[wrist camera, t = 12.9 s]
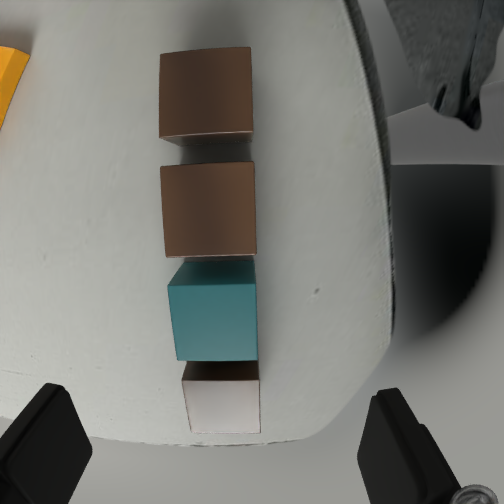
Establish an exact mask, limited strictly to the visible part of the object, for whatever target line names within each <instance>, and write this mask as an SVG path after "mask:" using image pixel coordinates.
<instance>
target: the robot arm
mask: <svg viewBox="0 0 504 504" xmlns="http://www.w3.org/2000/svg"><path fill="white" fill-rule="evenodd" d="M91 456H92V446H91V444H90V441H89V439H88V437H87V435H86V433H85V430H84V428H83V426H82V424H81V421H80V419H79V417H78V414H77V412H76V409H75V407H74V405H73V402H72V399H71V397H70V394H69V392H68V391H66V390H65V388H64V387H63V386H61V385H57V384H52V383H46V384H45V385H44V386H43V387H42V388H41V389H40V390H39V391H38V393H37V394H36V395H35V396H34V397H33V399H32V400H31V401H30V402H29V403H28V405H27V406H26V407H25V408H24V409H23V411H22V412H21V413H20V414H19V415H18V417H17V418H16V419H15V420H14V422H13V423H12V424H11V425H10V426H9V428H8V429H7V430H6V431H5V433H4V434H3V435H2V437H1V438H0V504H68V502H69V500H70V499H71V496H72V494H73V492H74V490H75V488H76V486H77V484H78V482H79V480H80V478H81V476H82V474H83V472H84V470H85V468H86V466H87V464H88V462H89V460H90V458H91ZM357 460H358V465H359V468H360V471H361V474H362V478H363V481H364V484H365V487H366V490H367V494H368V497H369V500H370V503H371V504H498V499H497V496H496V495H495V493H494V492H493V491H492V490H491V489H489V488H488V487H485V486H482V485H469V486H465V487H463V488H461V486H460V485H459V483H458V481H457V479H456V477H455V476H454V474H453V472H452V470H451V468H450V466H449V465H448V463H447V461H446V459H445V458H444V456H443V454H442V452H441V451H440V449H439V447H438V446H437V444H436V442H435V440H434V439H433V437H432V435H431V434H430V432H429V430H428V429H427V427H426V426H425V425H424V424H419V422H418V421H417V419H416V417H415V415H414V414H413V412H412V410H411V409H410V407H409V405H408V404H407V402H406V400H405V399H404V397H403V395H402V394H401V392H400V390H399V389H398V388H391V389H384V390H379V391H378V392H377V395H376V396H372V398H371V402H370V406H369V411H368V415H367V419H366V423H365V427H364V431H363V435H362V438H361V442H360V446H359V450H358V454H357Z"/></svg>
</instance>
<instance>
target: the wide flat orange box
mask: <svg viewBox="0 0 504 504" xmlns="http://www.w3.org/2000/svg"><path fill="white" fill-rule="evenodd" d="M29 58H30V55H29V54H27V53H25V52H22V51H20V50H18V49H16V48H10V47H4V46H0V129H1V126H2V123H3V120H4V117H5V114H6V112H7V109H8V106H9V104H10V101H11V99H12V96H13V94H14V91H15V89H16V86H17V84H18V82H19V79H20V77H21V75H22V73H23V70H24V68H25V66H26V64H27V62H28V60H29Z"/></svg>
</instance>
